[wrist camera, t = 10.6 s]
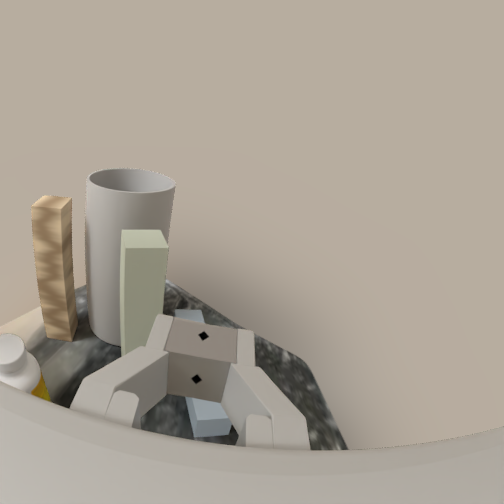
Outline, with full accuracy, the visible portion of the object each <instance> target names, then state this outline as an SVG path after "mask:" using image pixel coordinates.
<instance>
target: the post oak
mask: <svg viewBox="0 0 504 504" xmlns="http://www.w3.org/2000/svg"><path fill="white" fill-rule="evenodd" d="M31 211H32V231H33V246H34V257H35V266H36V275H37V282H38V290H39V296H40V302H41V308H42V314H43V319H44V325H45V330H46V334H47V338H52V339H58V340H64V341H70V342H72V340H73V337H74V334H75V331H76V328H77V326H78V320H77V311H76V302H75V290H74V277H73V259H72V198H68V197H58V196H47V195H44V196H43V197H41V198H40V199H39V200H38V201H37V202H36V203H34V204H33V205H32V206H31Z"/></svg>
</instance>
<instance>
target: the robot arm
mask: <svg viewBox="0 0 504 504" xmlns="http://www.w3.org/2000/svg"><path fill="white" fill-rule="evenodd" d="M166 394H172V395H178V396H184V397H190V398H196V399H201V400H206V401H212V402H217V403H221V406H222V408H223V409H224V411H225V413H226V414H227V416H228V418H229V419H230V421H231V423H232V425H233V426H234V428H235V430H236V431H237V433H238V434H239V437H238V440H237V443H236V445H235V446H232V445H224V444H216V443H209V442H202V441H196V440H190V439H184V438H178V437H173V436H168V435H163V434H158V433H154V432H149V431H145V430H141V423H140V418H141V417H142V416H143V415H144V414H146V413H147V412H148V411H149V410H150V409H151V408H152V407H153V406H154V405H156V404H157V403H158V402H159V401H160V400H161V399H162V398H163V397H165V396H166ZM0 504H504V426H503V427H500V428H496V429H493V430H489V431H485V432H480V433H476V434H472V435H467V436H462V437H457V438H452V439H447V440H441V441H435V442H429V443H422V444H415V445H406V446H397V447H387V448H375V449H359V450H310V443H309V437H308V431H307V424H306V418H305V417H304V416H303V415H302V414H301V412H300V411H299V410H298V409H297V408H296V407H295V406H294V405H293V404H292V403H291V402H290V400H289V399H288V398H287V397H286V396H285V395H284V394H283V393H282V392H281V391H280V389H279V388H278V387H277V386H276V385H275V384H274V383H273V382H272V380H271V379H270V378H269V377H268V376H267V375H266V374H265V372H264V371H263V370H262V369H261V368H260V367H255V345H254V332H253V331H252V330H245V329H234V328H228V327H222V326H216V325H211V324H206V323H201V322H196V321H192V320H187V319H182V318H178V317H173V316H168V315H163V314H158V315H157V317H156V319H155V322H154V324H153V327H152V330H151V333H150V335H149V338H148V341H147V343H146V346H145V347H144V346H140V347H138V348H136V349H134V350H133V351H131V352H129V353H127V354H126V355H124V356H122V357H120V358H119V359H117V360H115V361H113V362H112V363H110V364H108V365H106V366H105V367H103V368H101V369H99V370H98V371H96V372H94V373H92V374H90V375H89V376H87V377H85V378H83V381H82V383H81V385H80V387H79V389H78V391H77V393H76V395H75V397H74V400H73V402H72V404H71V406H70V408H69V409H68V408H65V407H63V406H60V405H57V404H54V403H52V402H49V401H46V400H44V399H41V398H39V397H36V396H34V395H31V394H29V393H27V392H24V391H22V390H20V389H17V388H15V387H13V386H11V385H8V384H6V383H4V382H2V381H0Z"/></svg>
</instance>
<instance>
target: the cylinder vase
mask: <svg viewBox="0 0 504 504" xmlns="http://www.w3.org/2000/svg"><path fill="white" fill-rule="evenodd" d="M175 185H176V183H175V181H174V180H173V179H172V178H170V177H168V176H166V175H163V174H160V173H156V172H152V171H147V170H140V169H130V168H113V169H104V170H99V171H96V172H93V173H91V174H89V175H88V176H87V185H86V209H85V264H86V287H87V302H88V314H89V324H90V327H91V329H92V331H93V332H94V334H95V335H96V336H97V337H98V338H100V339H101V340H103V341H105V342H107V343H109V344H112V345H116V346H121V332H120V256H121V234H122V230H161V232H162V234H163V236H164V238H165V241H166V243H167V245H168V236H169V228H170V220H171V213H172V206H173V198H174V192H175Z"/></svg>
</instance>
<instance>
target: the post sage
mask: <svg viewBox="0 0 504 504" xmlns="http://www.w3.org/2000/svg"><path fill="white" fill-rule="evenodd" d="M168 252H169V247H168V245H167V243H166V241H165V238H164V236H163V234H162V232H161V230H122V234H121V256H120V332H121V355H122V356H124V355H126V354H127V353H129V352H131V351H133V350H134V349H136V348H138V347H140V346H144V347H145V346H146V343H147V341H148V338H149V335H150V333H151V330H152V327H153V324H154V322H155V319H156V317H157V315H158V314H163V302H164V291H165V280H166V269H167V260H168Z"/></svg>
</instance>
